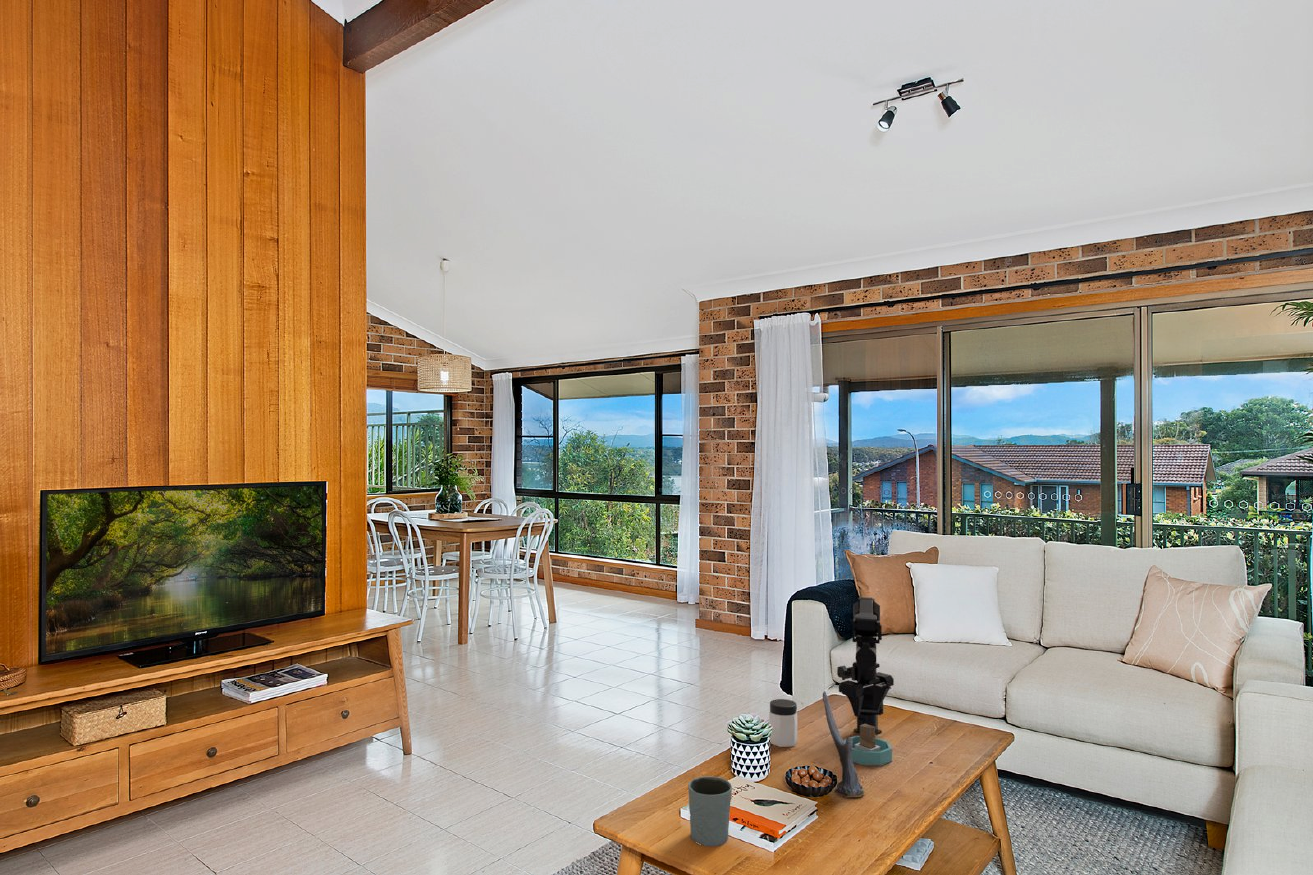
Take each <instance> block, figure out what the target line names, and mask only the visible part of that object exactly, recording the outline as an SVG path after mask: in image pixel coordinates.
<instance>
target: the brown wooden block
mask: <svg viewBox="0 0 1313 875" xmlns="http://www.w3.org/2000/svg"><path fill="white" fill-rule="evenodd" d="M859 736H860V745H861V746H863V747H866V748H869V749H872V748H875V737H876V734H875V727H874V726H871V725H867V724H863V725H860V733H859Z"/></svg>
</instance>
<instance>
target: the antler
mask: <svg viewBox="0 0 1313 875" xmlns="http://www.w3.org/2000/svg"><path fill="white" fill-rule="evenodd" d="M822 701H823V705H824V710H825V716H826V722H827V725H828V729H829V731H830V735H831V738H832V741H833V742H834V746H835V748H836V750H837V753H838V756H839V761H840V763H841V767H842V768H841V769H842V771H841V772H842V774H841V781H839V782H838V783H837V784H836V788H835V789H834V793H835V794H836V795H839V796H841V797H844V798H846V799H848V798H859V797H862V796H863V795H865V792H866V791H865V790H863V789H864V787H863V785H861V783H860V782H859V778H858V772H857V770H856V767H855V764H854V762H853V761H852V744H853V740H852V739H851V737H850V736H847V737H846V738H845V739H846V743H844V739H843V737H842V736H841V733H840V730H839V729H838V726H837V723H836V720H835V716H834V713H833V710H832V707H831V704H830V701H829V697H828V695H827V692H826V691H823V692H822Z"/></svg>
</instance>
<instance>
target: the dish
mask: <svg viewBox="0 0 1313 875" xmlns="http://www.w3.org/2000/svg"><path fill="white" fill-rule="evenodd" d="M850 738H851V739H852V740H853V744H852V761H853V763H855V764H859V765H861V766H879V767H880V766H884V765H885V764H888V763H891V762H893V748H892V746H891V744H890V741H887V740H884V739H881V738H880V737H879V738H878V737H876V736H875V748H872V749H869V748H866V747H863V746H861V745H860V735H854V736H851V737H850ZM843 741H844V743H846V738H844V739H843Z"/></svg>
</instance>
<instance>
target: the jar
mask: <svg viewBox="0 0 1313 875" xmlns="http://www.w3.org/2000/svg"><path fill="white" fill-rule="evenodd" d="M797 706H798V705H797V702H795V701H794V700H791V699H785V698H783V699H781V698H780V699H779V698H777V699H773V700H770V702H769V712H768V724H769V723H770V724H771V726H773V728H772V733H771V737H770V742H771V743H770V744H771V745H773V746H777V747H779V748H785V747H786V748H791V747H795V746H796V744H797V743H798V710H797V709H798V707H797Z"/></svg>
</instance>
